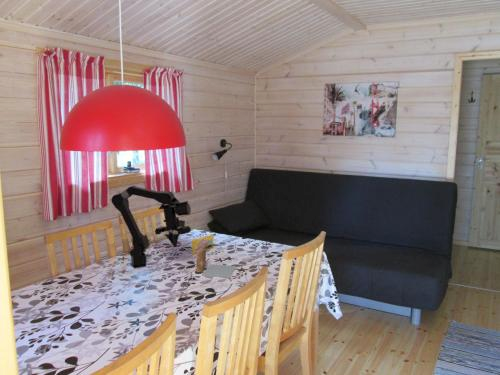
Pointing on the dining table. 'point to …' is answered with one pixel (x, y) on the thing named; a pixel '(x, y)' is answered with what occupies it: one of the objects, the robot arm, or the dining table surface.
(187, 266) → the dining table surface
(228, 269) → the mat
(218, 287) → the dining table surface
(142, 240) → the robot arm
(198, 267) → the walnut block
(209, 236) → the candy box
